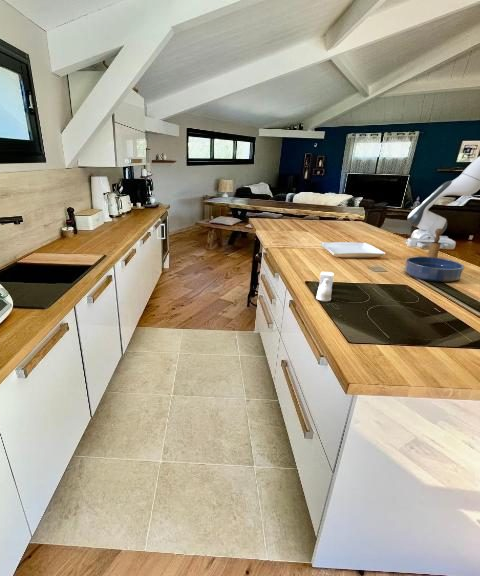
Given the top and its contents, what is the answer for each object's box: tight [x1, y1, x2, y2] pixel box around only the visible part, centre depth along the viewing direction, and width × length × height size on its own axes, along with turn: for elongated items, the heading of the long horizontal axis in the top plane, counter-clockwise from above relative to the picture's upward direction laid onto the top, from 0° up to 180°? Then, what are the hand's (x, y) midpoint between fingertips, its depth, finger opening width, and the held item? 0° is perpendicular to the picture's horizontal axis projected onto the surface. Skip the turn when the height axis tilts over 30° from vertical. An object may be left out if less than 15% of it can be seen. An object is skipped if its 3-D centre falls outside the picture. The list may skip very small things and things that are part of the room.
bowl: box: [403, 256, 465, 283], centre depth 140 cm, size 21×21×6 cm
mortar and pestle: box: [426, 229, 444, 258], centre depth 154 cm, size 7×6×18 cm
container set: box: [315, 271, 335, 302], centre depth 123 cm, size 20×5×6 cm, turn 156°
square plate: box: [319, 241, 387, 259], centre depth 179 cm, size 27×27×4 cm
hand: (434, 246), depth 155 cm, fingers open, 8 cm apart
